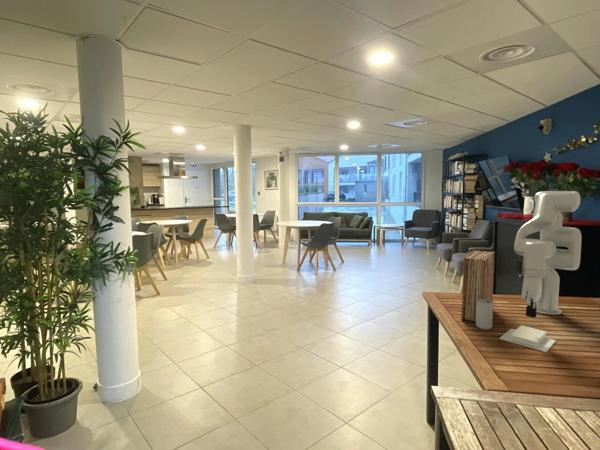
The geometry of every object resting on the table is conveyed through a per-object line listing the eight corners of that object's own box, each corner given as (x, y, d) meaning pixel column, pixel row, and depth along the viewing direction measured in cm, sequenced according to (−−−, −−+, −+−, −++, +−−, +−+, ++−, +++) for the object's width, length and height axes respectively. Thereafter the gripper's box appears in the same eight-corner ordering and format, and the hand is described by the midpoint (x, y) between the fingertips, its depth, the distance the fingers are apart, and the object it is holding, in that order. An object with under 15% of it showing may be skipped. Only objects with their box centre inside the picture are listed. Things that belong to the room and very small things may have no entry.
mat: (511, 329, 150) (511, 328, 150) (555, 341, 138) (555, 340, 138) (499, 339, 140) (499, 338, 140) (546, 352, 128) (546, 351, 128)
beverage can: (494, 330, 148) (495, 303, 147) (477, 329, 150) (479, 303, 148) (489, 325, 154) (490, 299, 153) (473, 324, 156) (475, 298, 155)
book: (482, 324, 155) (486, 259, 152) (460, 320, 161) (463, 257, 158) (492, 308, 175) (494, 250, 172) (472, 305, 181) (474, 249, 178)
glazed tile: (521, 325, 147) (510, 334, 138) (546, 331, 141) (536, 341, 131) (520, 330, 148) (509, 340, 138) (545, 336, 141) (536, 347, 132)
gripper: (528, 268, 146) (525, 309, 148) (517, 273, 136) (514, 318, 138) (549, 271, 140) (546, 314, 142) (539, 277, 130) (536, 324, 132)
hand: (530, 316), depth 140 cm, fingers closed
